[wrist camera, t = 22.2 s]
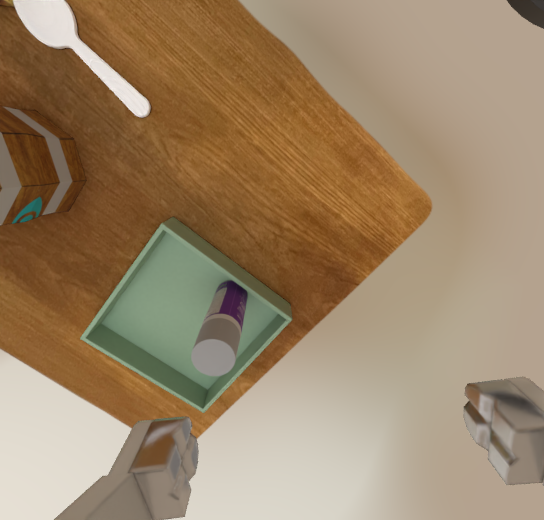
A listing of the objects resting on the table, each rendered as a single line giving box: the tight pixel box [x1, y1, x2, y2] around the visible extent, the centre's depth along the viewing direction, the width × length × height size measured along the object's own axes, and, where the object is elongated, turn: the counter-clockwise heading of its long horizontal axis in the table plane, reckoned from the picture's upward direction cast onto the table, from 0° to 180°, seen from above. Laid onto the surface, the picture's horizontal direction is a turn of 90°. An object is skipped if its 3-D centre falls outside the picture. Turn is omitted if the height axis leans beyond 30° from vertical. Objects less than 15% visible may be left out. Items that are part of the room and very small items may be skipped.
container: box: [191, 280, 248, 376], centre depth 37 cm, size 5×5×15 cm
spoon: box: [13, 0, 151, 118], centre depth 34 cm, size 5×18×1 cm, turn 45°
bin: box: [80, 217, 292, 413], centre depth 43 cm, size 21×21×5 cm
